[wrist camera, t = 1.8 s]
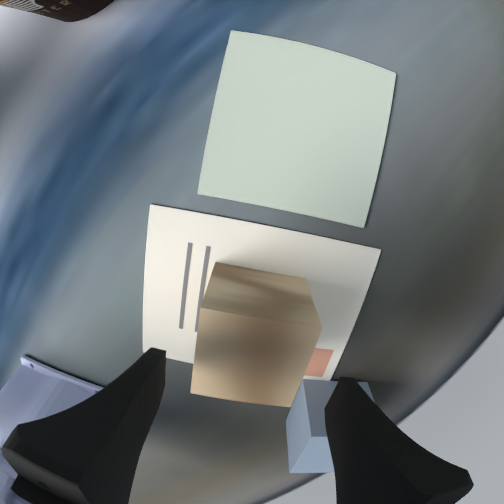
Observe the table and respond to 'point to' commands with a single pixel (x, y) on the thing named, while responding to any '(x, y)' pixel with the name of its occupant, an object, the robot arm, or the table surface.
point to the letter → (254, 257)
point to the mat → (297, 128)
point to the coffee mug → (59, 8)
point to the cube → (311, 427)
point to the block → (254, 336)
